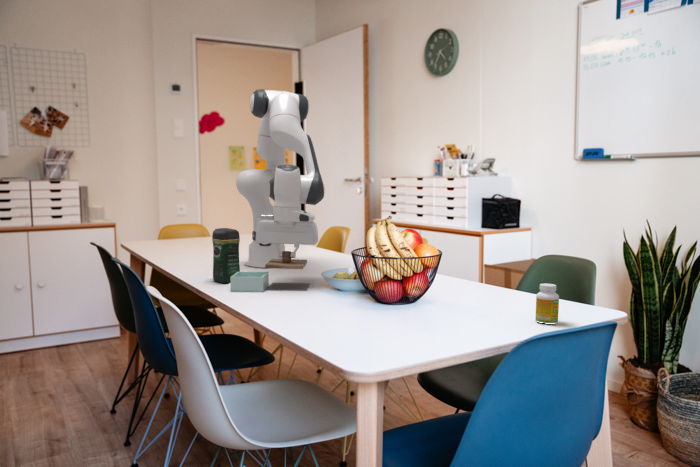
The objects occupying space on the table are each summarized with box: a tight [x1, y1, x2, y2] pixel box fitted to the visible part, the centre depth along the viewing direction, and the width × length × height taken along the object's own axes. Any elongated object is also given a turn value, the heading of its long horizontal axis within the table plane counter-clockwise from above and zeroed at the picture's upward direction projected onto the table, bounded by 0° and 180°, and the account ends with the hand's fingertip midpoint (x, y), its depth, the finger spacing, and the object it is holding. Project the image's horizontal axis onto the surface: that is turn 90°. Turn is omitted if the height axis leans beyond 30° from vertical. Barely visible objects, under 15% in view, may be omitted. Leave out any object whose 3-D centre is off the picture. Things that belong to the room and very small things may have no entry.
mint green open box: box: [230, 271, 270, 293], centre depth 184 cm, size 10×10×5 cm
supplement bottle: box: [535, 282, 560, 324], centre depth 145 cm, size 5×5×10 cm
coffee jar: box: [211, 227, 241, 284], centre depth 198 cm, size 10×8×19 cm
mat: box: [266, 282, 312, 292], centre depth 188 cm, size 13×13×1 cm
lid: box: [264, 250, 308, 270], centre depth 187 cm, size 12×12×4 cm
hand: (286, 257), depth 187 cm, fingers closed on lid, 3 cm apart
